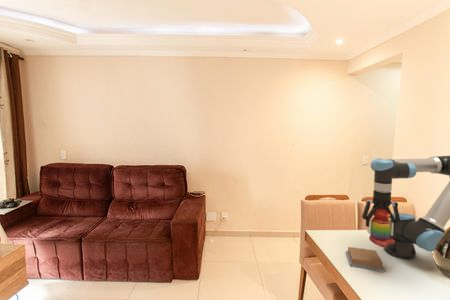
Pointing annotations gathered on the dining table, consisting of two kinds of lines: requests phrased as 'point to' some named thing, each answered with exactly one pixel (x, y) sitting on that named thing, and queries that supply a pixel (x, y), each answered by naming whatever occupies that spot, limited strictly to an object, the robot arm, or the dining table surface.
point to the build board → (364, 259)
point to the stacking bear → (381, 228)
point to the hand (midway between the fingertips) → (379, 233)
